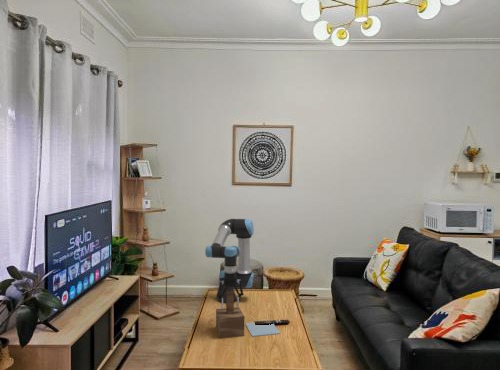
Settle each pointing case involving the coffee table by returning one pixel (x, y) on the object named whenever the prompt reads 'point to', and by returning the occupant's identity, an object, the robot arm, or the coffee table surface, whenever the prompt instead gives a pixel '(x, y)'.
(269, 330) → the mat
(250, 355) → the coffee table surface
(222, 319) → the cover
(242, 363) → the coffee table surface
